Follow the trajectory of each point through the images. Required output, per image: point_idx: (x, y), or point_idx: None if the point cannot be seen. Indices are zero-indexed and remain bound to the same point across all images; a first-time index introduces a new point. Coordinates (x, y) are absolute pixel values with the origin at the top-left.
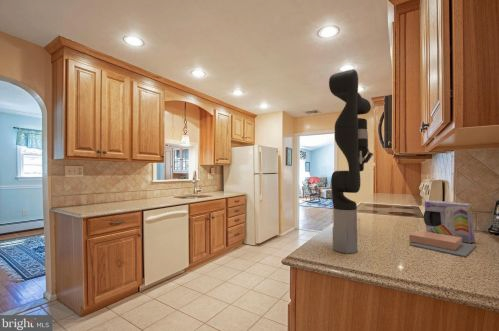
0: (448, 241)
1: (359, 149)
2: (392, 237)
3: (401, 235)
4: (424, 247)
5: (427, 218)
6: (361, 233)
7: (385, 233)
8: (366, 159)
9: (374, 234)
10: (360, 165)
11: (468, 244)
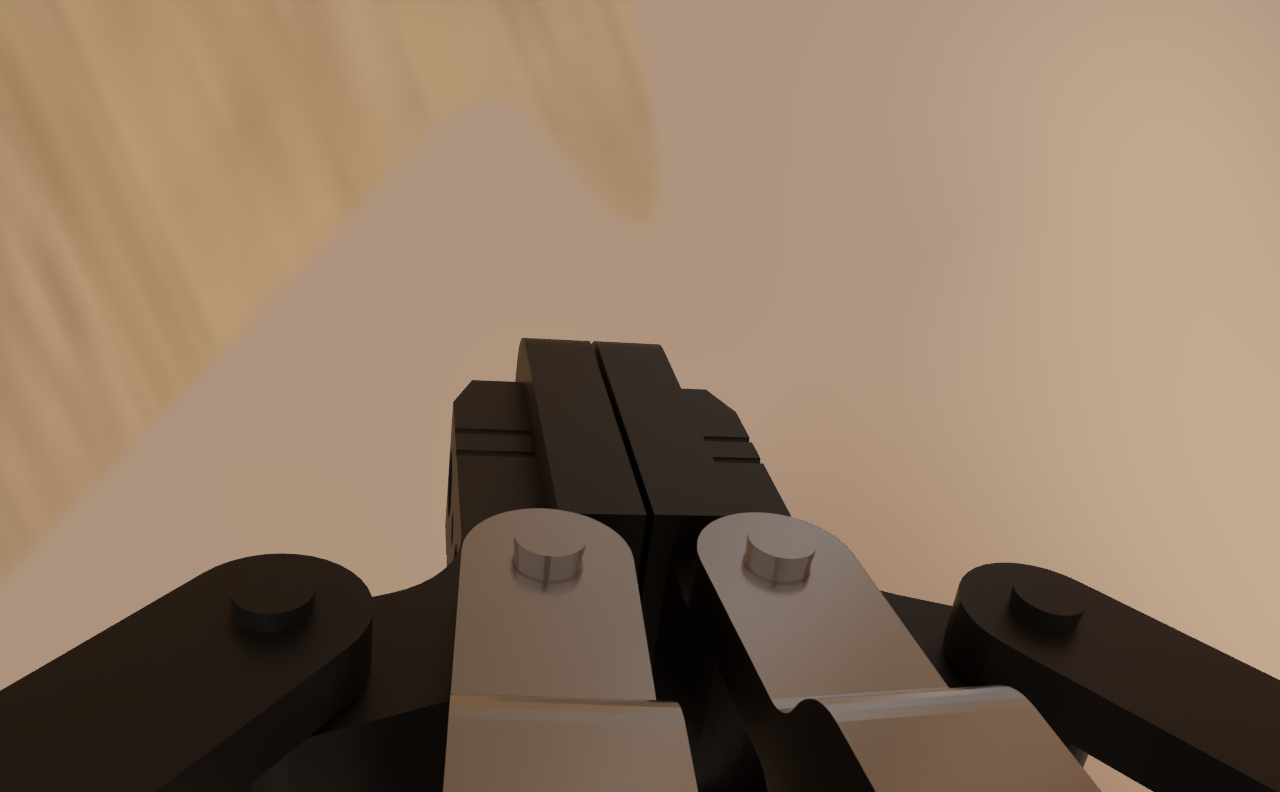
0: None
1: None
2: (98, 108)
3: (73, 299)
4: None
5: None
6: (480, 21)
7: (257, 258)
8: (21, 736)
9: (332, 97)
10: (568, 470)
11: None
